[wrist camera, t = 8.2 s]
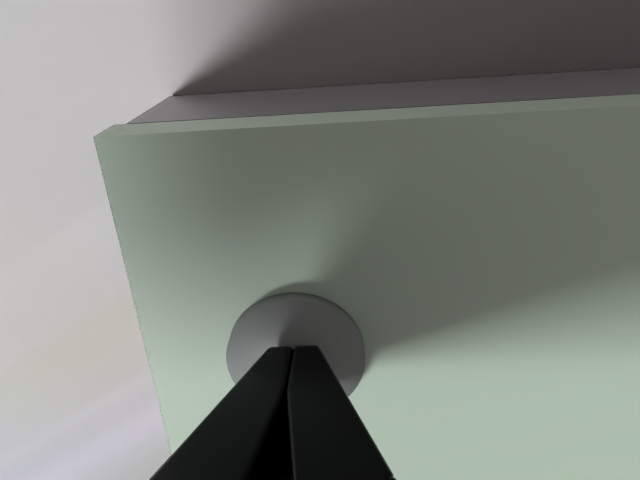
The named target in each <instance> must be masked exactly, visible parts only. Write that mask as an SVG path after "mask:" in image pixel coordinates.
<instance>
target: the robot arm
mask: <svg viewBox="0 0 640 480" xmlns="http://www.w3.org/2000/svg"><path fill="white" fill-rule="evenodd" d="M149 480H397V479H396V478H394V475H393V473H392V471H391V469H390V468H389V466H388V464H387V463H386V461H385V459H384V457H383V456H382V454H381V452H380V451H379V449H378V447H377V445H376V444H375V442H374V440H373V439H372V437H371V435H370V434H369V432H368V430H367V428H366V427H365V425H364V423H363V422H362V420H361V418H360V416H359V415H358V413H357V411H356V410H355V408H354V406H353V404H352V403H351V401H350V399H349V398H348V396H347V394H346V392H345V391H344V389H343V387H342V386H341V384H340V382H339V380H338V379H337V377H336V375H335V374H334V372H333V370H332V368H331V367H330V365H329V363H328V362H327V360H326V358H325V356H324V355H323V353H322V351H321V350H320V348H319V347H318V346H317V345H306V346H296V347H295V348H294V349H293V348H292V347H291V346H280V347H270V348H268V349H267V350H266V351H265V352H264V353H263V354H262V356H261V357H260V358H259V359H258V360H257V361H256V362H255V363H254V364H253V366H252V367H251V368H250V369H249V370H248V371H247V372H246V373H245V374H244V375H243V377H242V378H241V379H240V380H239V381H238V382H237V383H236V384H235V385H234V387H233V388H232V389H231V390H230V391H229V392H228V393H227V394H226V395H225V396H224V398H223V399H222V400H221V401H220V402H219V403H218V404H217V405H216V406H215V408H214V409H213V410H212V411H211V412H210V413H209V414H208V415H207V416H206V417H205V419H204V420H203V421H202V422H201V423H200V424H199V425H198V426H197V427H196V429H195V430H194V431H193V432H192V433H191V434H190V435H189V436H188V437H187V438H186V440H185V441H184V442H183V443H182V444H181V445H180V446H179V447H178V448H177V450H176V451H175V452H174V453H173V454H172V455H171V456H170V457H169V458H168V459H167V461H166V462H165V463H164V464H163V465H162V466H161V467H160V468H159V469H158V471H157V472H156V473H155V474H154V475H153V476H152V477H151V478H150V479H149Z"/></svg>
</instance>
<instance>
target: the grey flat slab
mask: <svg viewBox="0 0 640 480" xmlns="http://www.w3.org/2000/svg"><path fill="white" fill-rule="evenodd" d="M631 94H640V68H624V69H607V70H591V71H575V72H558V73H542V74H526V75H509V76H493V77H476V78H460V79H444V80H427V81H411V82H395V83H378V84H362V85H345V86H329V87H313V88H296V89H280V90H264V91H247V92H231V93H214V94H198V95H182V96H169V97H168V98H166V99H165V100H163V101H162V102H160V103H158V104H157V105H155V106H154V107H152V108H151V109H149V110H147V111H146V112H144V113H143V114H141V115H140V116H138V117H136V118H135V119H133V120H132V121H130V122H128V123H127V124H138V123H155V122H172V121H189V120H206V119H223V118H240V117H257V116H274V115H291V114H308V113H325V112H342V111H359V110H376V109H393V108H410V107H427V106H444V105H461V104H478V103H495V102H512V101H529V100H546V99H563V98H580V97H597V96H614V95H631Z"/></svg>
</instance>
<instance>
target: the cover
mask: <svg viewBox="0 0 640 480" xmlns="http://www.w3.org/2000/svg"><path fill="white" fill-rule="evenodd" d="M93 138H94V142H95V146H96V150H97V154H98V158H99V162H100V166H101V170H102V174H103V178H104V182H105V186H106V191H107V195H108V199H109V203H110V207H111V211H112V215H113V219H114V223H115V227H116V231H117V235H118V239H119V243H120V248H121V252H122V256H123V260H124V264H125V268H126V272H127V276H128V280H129V284H130V288H131V292H132V296H133V300H134V305H135V309H136V313H137V317H138V321H139V325H140V329H141V333H142V337H143V341H144V345H145V349H146V353H147V357H148V362H149V366H150V370H151V374H152V378H153V382H154V386H155V390H156V394H157V398H158V402H159V406H160V410H161V414H162V419H163V423H164V427H165V431H166V435H167V439H168V443H169V447H170V451H171V455H172V454H173V453H174V452H175V451H176V450H177V448H178V447H179V446H180V445H181V444H182V443H183V442H184V441H185V440H186V438H187V437H188V436H189V435H190V434H191V433H192V432H193V431H194V430H195V429H196V427H197V426H198V425H199V424H200V423H201V422H202V421H203V420H204V419H205V417H206V416H207V415H208V414H209V413H210V412H211V411H212V410H213V409H214V408H215V406H216V405H217V404H218V403H219V402H220V401H221V400H222V399H223V398H224V396H225V395H226V394H227V393H228V392H229V391H230V390H231V389H232V388H233V387H234V385H235V384H236V383H237V382H238V381H239V380H240V379H241V378H242V377H243V375H244V374H245V373H246V372H247V371H248V370H249V369H250V368H251V367H252V366H253V364H254V363H255V362H256V361H257V360H258V359H259V358H260V357H261V356H262V354H263V353H264V352H265V351H266V350H267V349H268V348H270V347H280V346H291V347H292V348H293V349H294V348H295V347H296V346H306V345H317V346H318V347H319V348H320V350H321V351H322V353H323V355H324V356H325V358H326V360H327V362H328V363H329V365H330V367H331V368H332V370H333V372H334V374H335V375H336V377H337V379H338V380H339V382H340V384H341V386H342V387H343V389H344V391H345V392H346V394H347V396H348V398H349V399H350V401H351V403H352V404H353V406H354V408H355V410H356V411H357V413H358V415H359V416H360V418H361V420H362V422H363V423H364V425H365V427H366V428H367V430H368V432H369V434H370V435H371V437H372V439H373V440H374V442H375V444H376V445H377V447H378V449H379V451H380V452H381V454H382V456H383V457H384V459H385V461H386V463H387V464H388V466H389V468H390V469H391V471H392V473H393V475H394V478H396V479H397V480H640V94H631V95H614V96H597V97H580V98H563V99H546V100H529V101H512V102H495V103H478V104H461V105H444V106H427V107H410V108H393V109H376V110H359V111H342V112H325V113H308V114H291V115H274V116H257V117H240V118H223V119H206V120H189V121H172V122H155V123H138V124H121V125H113V126H111V127H109V128H108V129H106V130H104V131H103V132H101V133H99V134H97V135H96V136H94V137H93Z"/></svg>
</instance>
